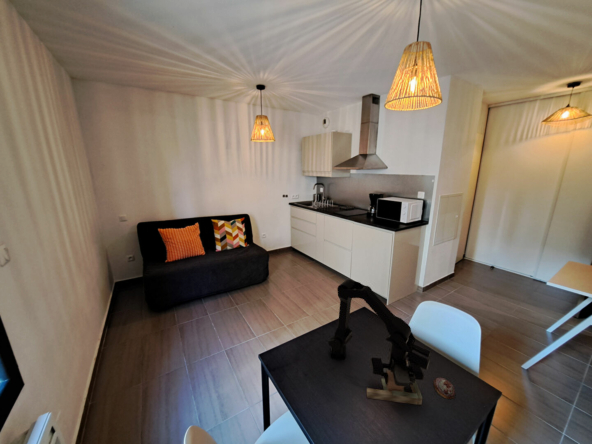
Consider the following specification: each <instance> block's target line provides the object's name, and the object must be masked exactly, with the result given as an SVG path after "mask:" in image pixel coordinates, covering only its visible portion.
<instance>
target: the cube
mask: <svg viewBox="0 0 592 444" xmlns="http://www.w3.org/2000/svg"><path fill="white" fill-rule="evenodd" d="M387 373H388V383H387V384H386V385H387V389H388V391H392V390H393V391H401V392H403V389H404V388H405V386H397V385H396V384H395V382H394V377H393V372H391V371H387ZM404 390H405V389H404Z"/></svg>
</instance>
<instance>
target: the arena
mask: <svg viewBox="0 0 592 444" xmlns="http://www.w3.org/2000/svg"><path fill="white" fill-rule="evenodd" d="M406 362H407V363H408V360H406ZM380 380H381V384H382V385H381V386H382V388H383V389H376V388H369V387H366V398H367V399H374V400H381V401H387V402H388V401H389V402H395V403H396V402H397V403H404V404H410V405H419V406H422V403H423V396H422V393H421V391H420V389H419V386H418V383H417V381H416V380H417V379H415V383H413V385H409V386H410V389H411V391H412V392H408V391H407V392H406V391H405V389H403V392H401V391H393V390H392V391H388V389H387V385H386V382H385V378H381V379H380Z"/></svg>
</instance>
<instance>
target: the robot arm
mask: <svg viewBox="0 0 592 444" xmlns="http://www.w3.org/2000/svg"><path fill="white" fill-rule="evenodd" d="M336 288H337V291H336V292H337V296H338V299H339V301H340V302H339V311H338V312H339V313H338V322H337V328H336V330H335V332H334V334H333V336H332V337H331V338H330V339H329V340H328V341H327V342H328V345H329V347H330V358H331V359H334V360H335V359H336V360H345V357H346V354H347V344H348V343H349V342H350V340H351V339H352V338H353V330H352V329H350V326H349V324H350V316H351V315H350V314H351V308H352V307H351V305H352V300H353V299H362V300H364V302H365V303H366V304H367V305H368V306H369V308H371V309H372V311H373V313H375V314H376V315H377V317H378V318H379V319H380V320H381V321H382V322H383V324H384V325H385V328H386V331H387V332H388V335H387V336H386V337H385V340H386V341H387V342H389V343H390V348H389V349H388V350H389V351H388V352H389V356H388V358H387V359H388V363H384V362H383V361H382V358H381V357H371V358H370V366H371V371H372V374H374V375H377V376H381V377H383V379H385V382H386V384H387V383H388V373H387V371H391V372H393V377H394V382H395V384H396V385H397V386H404V388H405V387H406V388H407V387H409V386H410V385H413V383H415V380H420V381H423V380H424V378H425V377H424V376H425V373H424V371H423V370H425V371H428V369H429V365H430V363H431V362H430V360H431V350H428V349H426V348H423V347H421V346H419V345H416V341H417V339H416V337H415V335H414V334H413V332H412V328H411V326H410V325H409V324H408V323H407V322H405V321H404V320H403V319H402V318H401V317H399V316H397V315H395V314H394V313H393V312H392V311H391V310H390V309H389V307H387V306H386V305H385V303H384V302H383V301H382V300H381V298H379V297H378V296H377V295H376V294H375V292H374V291H373V289H372V288H371V286H369V285H365V284H363V283H361V282H359V281H354V280H353V279H345V280H344V281H343V282H341V283H339V285H337V287H336ZM408 338H409V339H408ZM407 340H408V341H407ZM406 342H407V343H406ZM407 352H408V354H407ZM406 354H407V355H406ZM406 361H407V362H408V363H407V362H406Z"/></svg>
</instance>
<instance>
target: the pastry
mask: <svg viewBox="0 0 592 444" xmlns="http://www.w3.org/2000/svg"><path fill="white" fill-rule="evenodd" d="M433 388H434V390H435V392H436V394H438V395H439V396H440V397H442V398H444V399H446V400H447V399H449V400H453V399H454V398H455V396H456V390H455V386H454V385H453V384H452V383H451V382H450V381H449V380H448V379H446V378H443V377H436V378H435V379H433Z"/></svg>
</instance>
